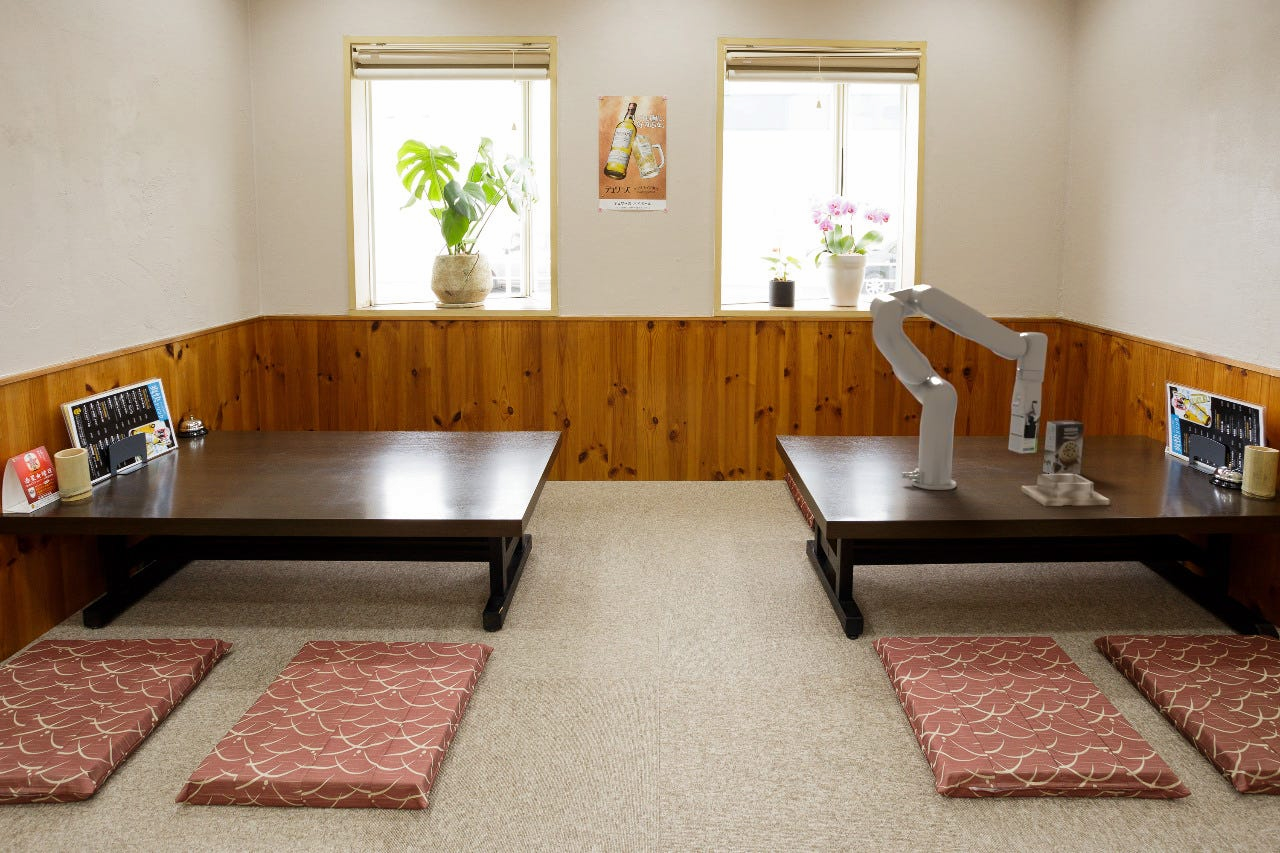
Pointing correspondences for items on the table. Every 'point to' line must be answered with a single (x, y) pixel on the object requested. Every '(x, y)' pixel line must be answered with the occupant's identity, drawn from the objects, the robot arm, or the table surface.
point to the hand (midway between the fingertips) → (1023, 434)
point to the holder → (1064, 491)
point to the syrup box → (1021, 433)
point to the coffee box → (1063, 447)
